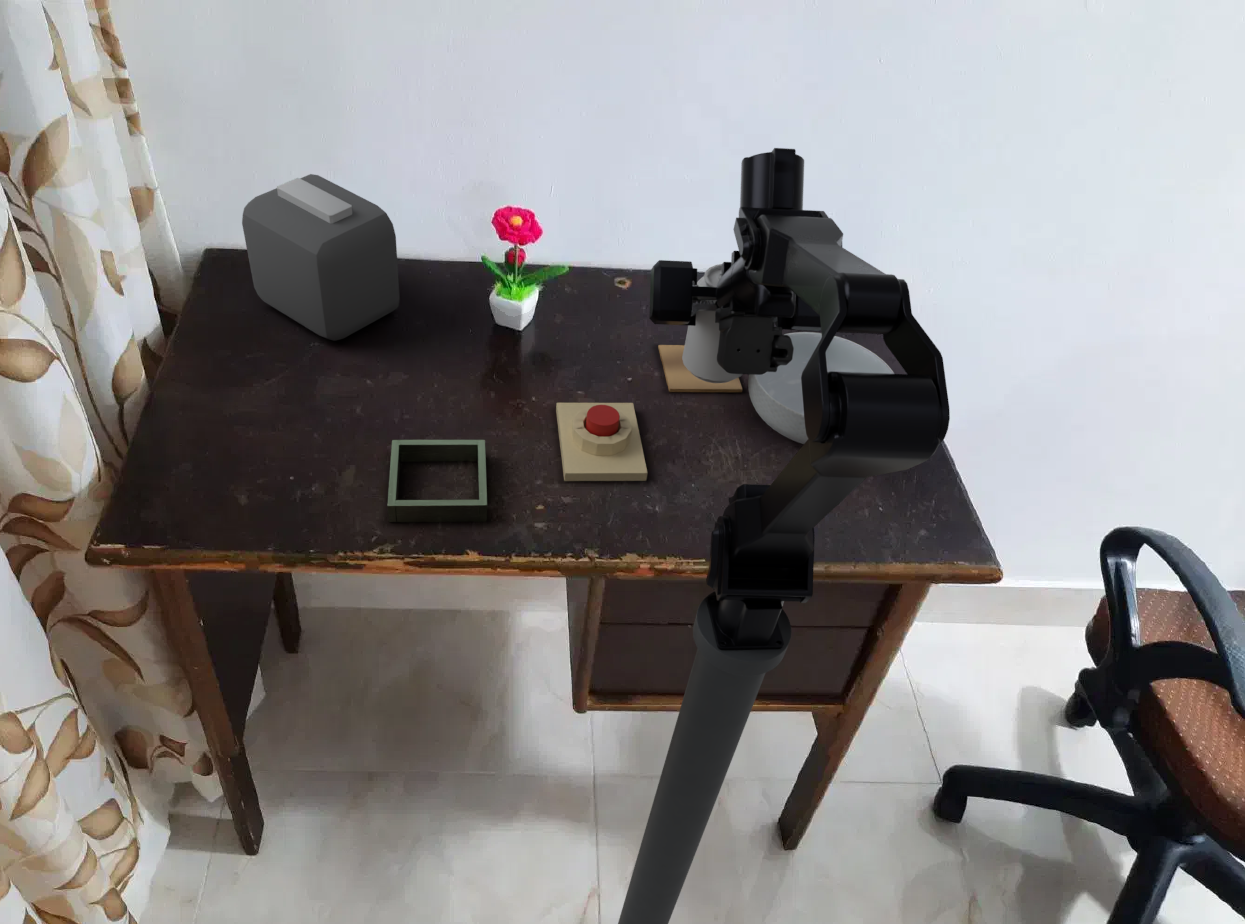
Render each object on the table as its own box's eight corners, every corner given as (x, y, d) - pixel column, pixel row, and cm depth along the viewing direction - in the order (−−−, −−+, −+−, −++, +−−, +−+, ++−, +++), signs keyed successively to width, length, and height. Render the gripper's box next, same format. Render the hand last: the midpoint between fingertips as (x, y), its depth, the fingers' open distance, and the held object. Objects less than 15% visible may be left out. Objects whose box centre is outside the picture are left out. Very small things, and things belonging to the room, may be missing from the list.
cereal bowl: (820, 491, 104) (838, 442, 99) (709, 412, 112) (721, 364, 107) (909, 430, 112) (930, 383, 107) (800, 361, 120) (814, 314, 115)
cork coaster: (741, 392, 115) (742, 389, 115) (669, 392, 114) (669, 389, 114) (727, 348, 121) (727, 345, 121) (658, 348, 121) (658, 344, 120)
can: (746, 391, 107) (770, 299, 99) (680, 383, 108) (699, 291, 99) (743, 353, 113) (766, 262, 104) (680, 346, 113) (698, 255, 104)
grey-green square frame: (486, 521, 98) (487, 504, 96) (388, 522, 97) (387, 505, 95) (484, 456, 104) (485, 439, 103) (393, 456, 104) (391, 439, 102)
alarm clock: (400, 318, 122) (393, 205, 111) (333, 356, 115) (318, 240, 104) (316, 269, 128) (301, 158, 117) (248, 303, 122) (225, 189, 111)
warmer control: (646, 481, 103) (649, 460, 101) (564, 481, 102) (566, 460, 100) (631, 410, 112) (635, 390, 109) (556, 410, 111) (557, 390, 109)
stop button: (619, 437, 104) (621, 425, 103) (587, 437, 104) (588, 425, 103) (615, 416, 107) (617, 404, 105) (584, 416, 106) (585, 404, 105)
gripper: (661, 359, 90) (637, 381, 106) (853, 366, 91) (801, 387, 107) (665, 242, 90) (640, 281, 106) (856, 250, 91) (804, 289, 107)
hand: (721, 312), depth 106 cm, fingers closed on can, 7 cm apart
